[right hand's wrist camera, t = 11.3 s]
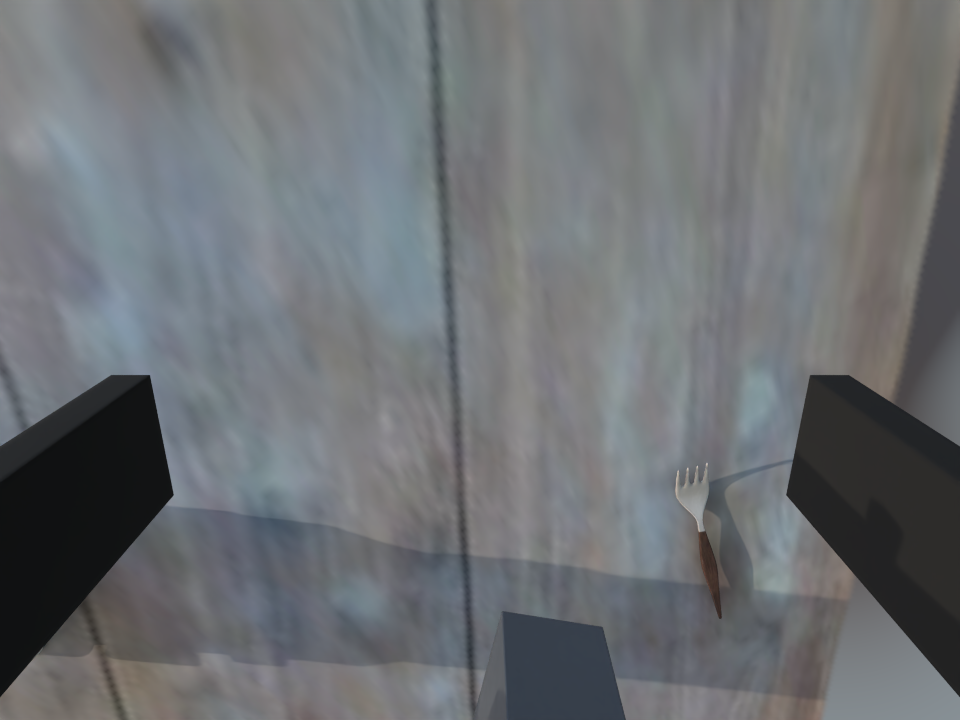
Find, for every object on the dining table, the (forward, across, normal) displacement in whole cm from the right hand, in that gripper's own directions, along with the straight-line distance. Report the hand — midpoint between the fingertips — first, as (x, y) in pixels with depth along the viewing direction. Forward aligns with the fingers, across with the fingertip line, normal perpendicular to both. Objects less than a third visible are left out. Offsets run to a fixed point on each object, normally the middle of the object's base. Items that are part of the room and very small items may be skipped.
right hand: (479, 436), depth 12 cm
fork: (+30, +18, -24) cm, 43 cm away
